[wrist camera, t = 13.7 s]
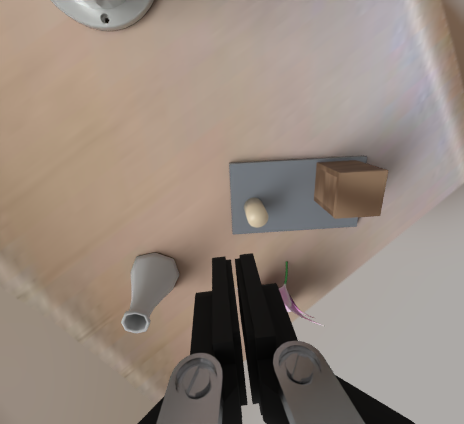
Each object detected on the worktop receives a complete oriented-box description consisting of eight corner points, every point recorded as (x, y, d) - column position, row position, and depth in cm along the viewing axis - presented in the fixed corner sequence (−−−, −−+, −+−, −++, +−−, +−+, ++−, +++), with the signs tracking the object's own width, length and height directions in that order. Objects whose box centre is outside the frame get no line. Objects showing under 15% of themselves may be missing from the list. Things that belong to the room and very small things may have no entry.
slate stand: (229, 162, 32) (231, 170, 28) (363, 155, 33) (386, 161, 28) (232, 231, 36) (234, 248, 31) (353, 224, 37) (372, 239, 32)
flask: (180, 253, 37) (167, 299, 27) (179, 292, 39) (167, 347, 30) (130, 249, 36) (100, 296, 27) (132, 290, 39) (105, 345, 29)
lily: (228, 253, 38) (219, 317, 32) (301, 235, 33) (307, 308, 27) (264, 285, 46) (262, 342, 39) (329, 275, 40) (339, 339, 34)
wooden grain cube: (316, 162, 32) (340, 173, 26) (355, 160, 32) (388, 170, 26) (313, 200, 34) (334, 218, 28) (350, 198, 34) (380, 215, 28)
